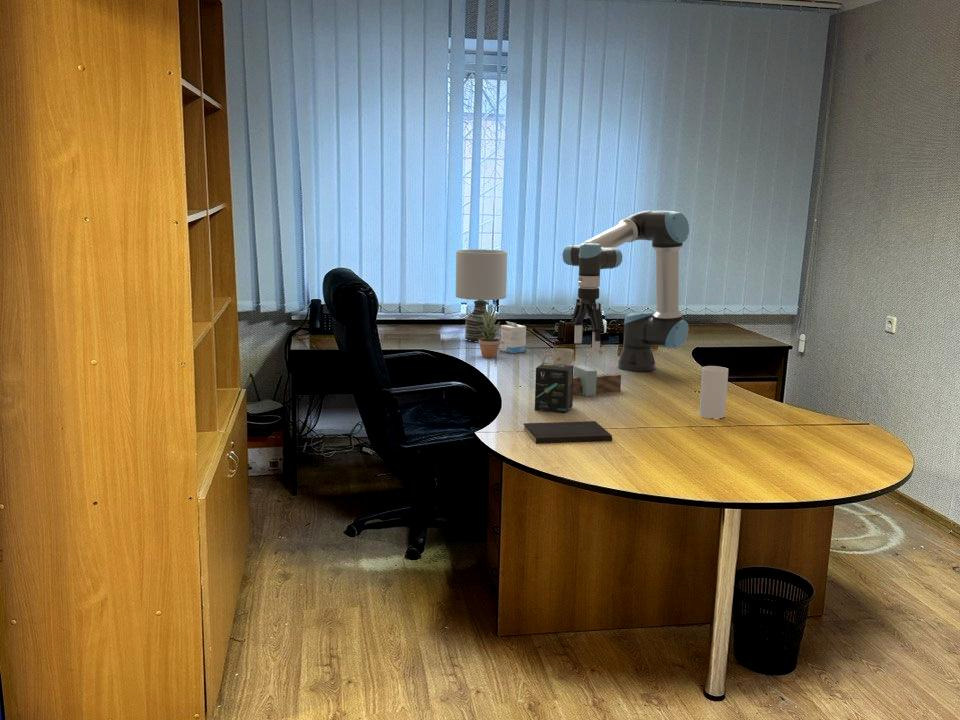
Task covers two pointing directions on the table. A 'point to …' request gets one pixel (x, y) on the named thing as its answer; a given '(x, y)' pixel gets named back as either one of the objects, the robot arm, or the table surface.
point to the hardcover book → (567, 432)
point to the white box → (513, 338)
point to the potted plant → (489, 335)
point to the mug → (560, 356)
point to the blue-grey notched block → (586, 379)
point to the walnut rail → (600, 383)
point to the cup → (713, 392)
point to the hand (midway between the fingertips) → (586, 346)
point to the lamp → (480, 284)
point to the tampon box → (554, 388)
